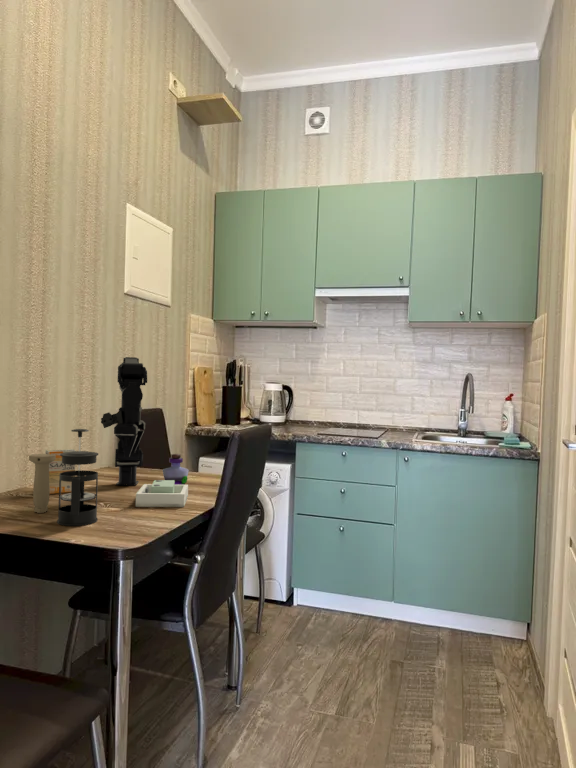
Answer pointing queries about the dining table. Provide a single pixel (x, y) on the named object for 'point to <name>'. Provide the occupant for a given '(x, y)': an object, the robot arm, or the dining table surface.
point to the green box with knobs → (163, 486)
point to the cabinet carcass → (161, 497)
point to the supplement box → (56, 469)
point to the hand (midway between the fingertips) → (129, 455)
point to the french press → (78, 488)
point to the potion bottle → (176, 470)
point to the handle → (41, 481)
